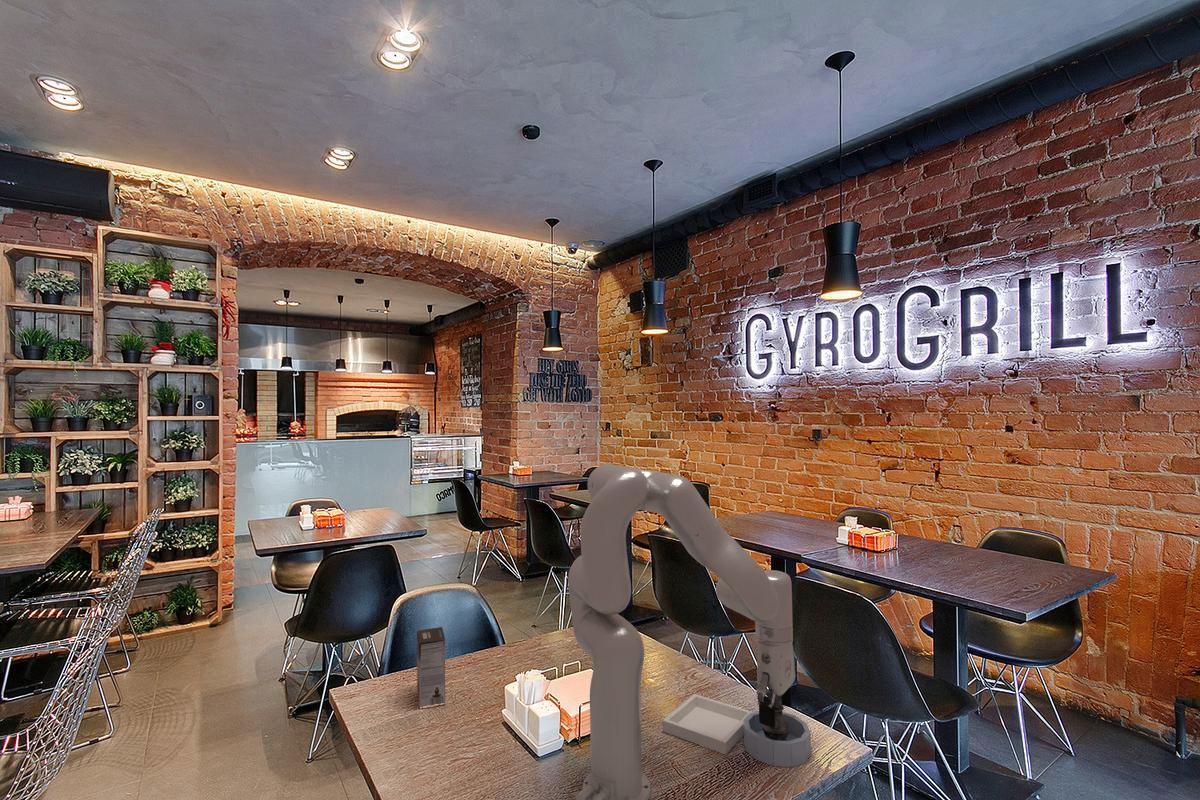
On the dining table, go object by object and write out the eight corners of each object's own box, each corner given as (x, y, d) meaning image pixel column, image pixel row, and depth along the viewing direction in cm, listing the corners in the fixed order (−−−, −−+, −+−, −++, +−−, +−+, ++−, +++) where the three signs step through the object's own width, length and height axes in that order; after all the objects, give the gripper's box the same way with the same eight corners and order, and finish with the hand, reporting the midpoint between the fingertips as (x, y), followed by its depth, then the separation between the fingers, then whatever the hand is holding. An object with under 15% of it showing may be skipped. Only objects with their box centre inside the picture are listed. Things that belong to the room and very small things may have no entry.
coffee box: (416, 693, 146) (416, 629, 147) (442, 689, 148) (442, 626, 149) (419, 710, 138) (418, 642, 138) (446, 705, 140) (446, 638, 140)
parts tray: (726, 755, 118) (725, 742, 118) (662, 731, 127) (662, 720, 127) (754, 723, 130) (754, 712, 130) (694, 704, 139) (694, 693, 139)
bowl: (797, 774, 111) (797, 751, 111) (734, 752, 119) (734, 729, 119) (818, 743, 121) (817, 722, 121) (758, 724, 129) (758, 704, 129)
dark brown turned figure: (792, 752, 116) (790, 692, 117) (762, 749, 118) (760, 689, 118) (788, 736, 122) (787, 679, 123) (760, 734, 123) (758, 677, 124)
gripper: (776, 649, 112) (779, 739, 111) (805, 623, 125) (807, 703, 125) (740, 641, 116) (742, 727, 115) (771, 616, 130) (773, 693, 129)
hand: (775, 714), depth 120 cm, fingers open, 9 cm apart
